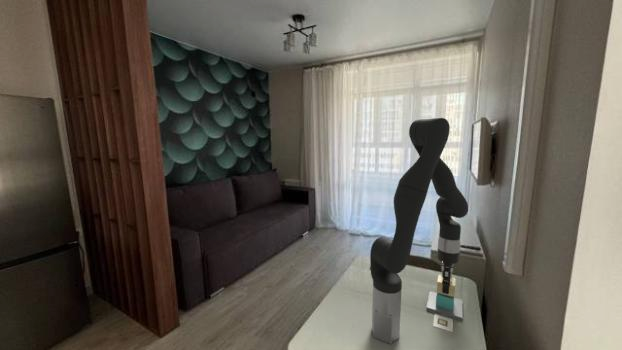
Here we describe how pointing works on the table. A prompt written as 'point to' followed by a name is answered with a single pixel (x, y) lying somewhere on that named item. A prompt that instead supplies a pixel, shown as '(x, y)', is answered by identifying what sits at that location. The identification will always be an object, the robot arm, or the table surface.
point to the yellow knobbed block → (451, 287)
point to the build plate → (454, 313)
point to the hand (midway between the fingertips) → (445, 288)
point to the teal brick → (444, 301)
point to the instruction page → (443, 322)
